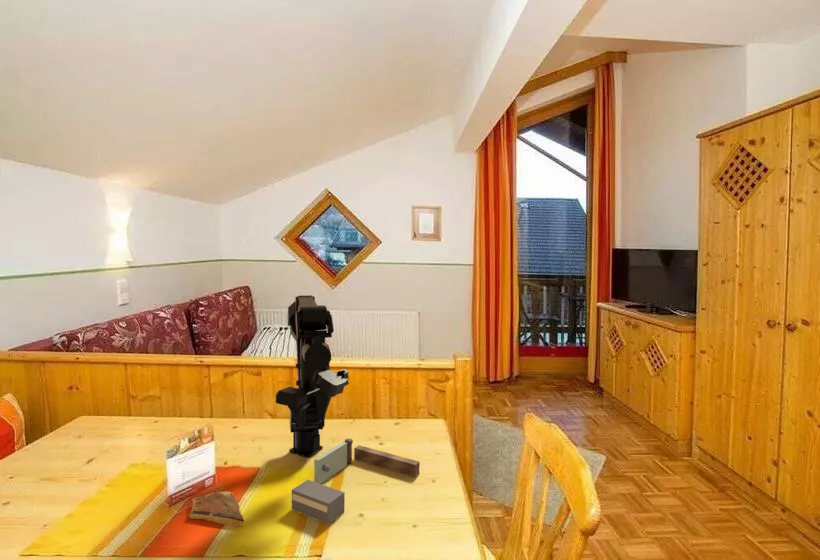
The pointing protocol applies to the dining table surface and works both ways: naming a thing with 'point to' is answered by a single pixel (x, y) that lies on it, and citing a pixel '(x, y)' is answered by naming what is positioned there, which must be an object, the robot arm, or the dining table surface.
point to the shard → (217, 508)
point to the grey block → (318, 501)
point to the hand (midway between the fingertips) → (312, 423)
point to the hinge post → (349, 450)
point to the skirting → (387, 460)
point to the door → (330, 463)
